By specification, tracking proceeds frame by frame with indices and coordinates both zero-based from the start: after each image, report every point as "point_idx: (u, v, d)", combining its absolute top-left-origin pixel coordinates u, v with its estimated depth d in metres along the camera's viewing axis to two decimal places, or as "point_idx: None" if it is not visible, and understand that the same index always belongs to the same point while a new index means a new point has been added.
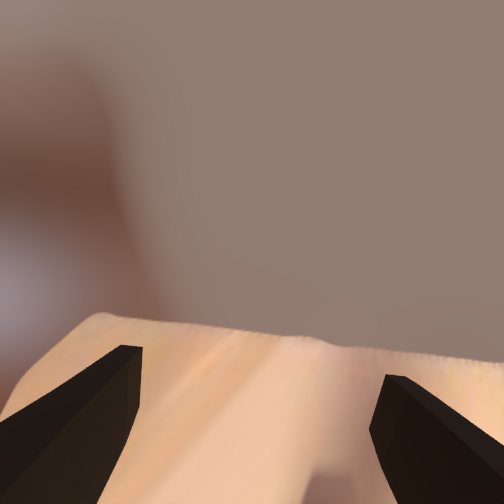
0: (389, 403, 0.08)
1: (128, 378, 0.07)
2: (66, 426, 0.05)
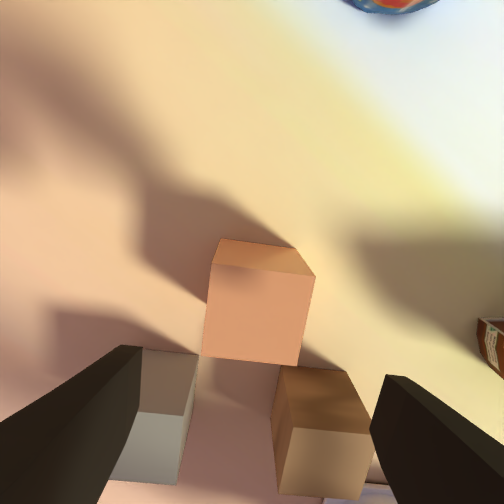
0: (389, 403, 0.08)
1: (128, 378, 0.07)
2: (66, 426, 0.05)
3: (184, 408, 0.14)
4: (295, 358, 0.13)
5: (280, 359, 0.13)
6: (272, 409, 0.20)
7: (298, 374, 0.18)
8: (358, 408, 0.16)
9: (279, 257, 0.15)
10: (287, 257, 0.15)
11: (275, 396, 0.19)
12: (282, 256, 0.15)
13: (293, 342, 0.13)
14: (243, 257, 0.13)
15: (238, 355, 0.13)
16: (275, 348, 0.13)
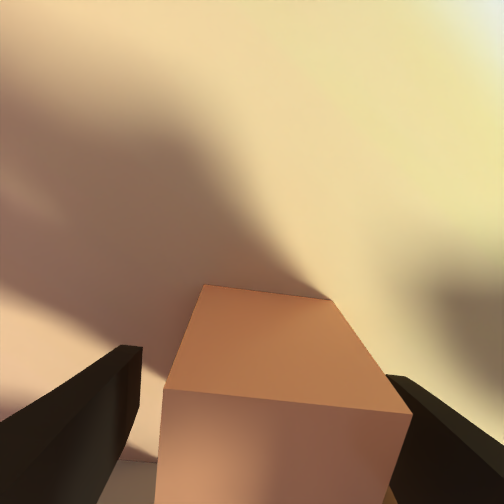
0: None
1: (128, 378, 0.07)
2: (66, 426, 0.05)
3: None
4: None
5: None
6: None
7: None
8: None
9: (313, 334, 0.07)
10: (327, 333, 0.08)
11: None
12: (317, 330, 0.08)
13: None
14: (243, 348, 0.06)
15: None
16: None
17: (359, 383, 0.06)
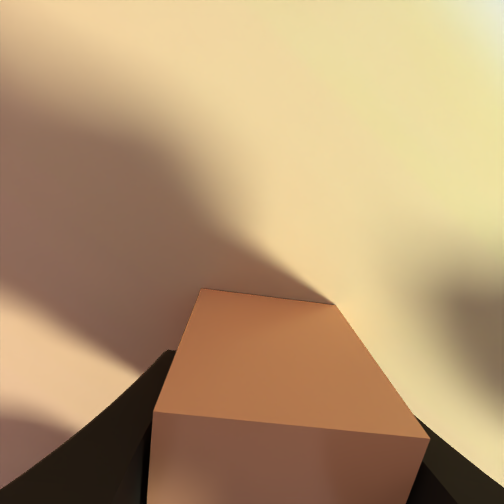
0: None
1: None
2: (143, 433, 0.05)
3: None
4: None
5: None
6: None
7: None
8: None
9: (317, 344, 0.07)
10: (332, 342, 0.07)
11: None
12: (321, 340, 0.07)
13: None
14: (241, 361, 0.06)
15: None
16: None
17: (369, 401, 0.05)
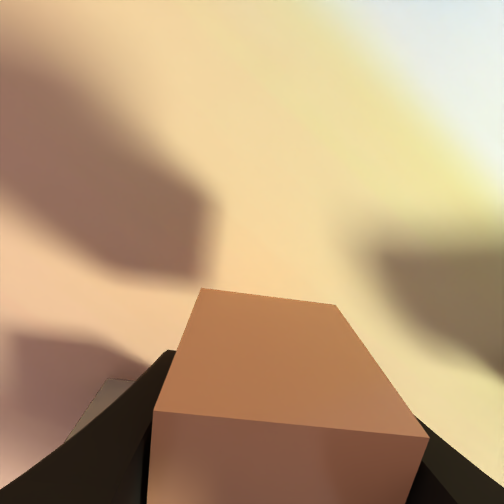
0: None
1: None
2: (143, 433, 0.05)
3: None
4: None
5: None
6: None
7: None
8: None
9: (317, 344, 0.07)
10: (332, 342, 0.07)
11: None
12: (321, 340, 0.07)
13: None
14: (241, 361, 0.06)
15: None
16: None
17: (369, 401, 0.05)
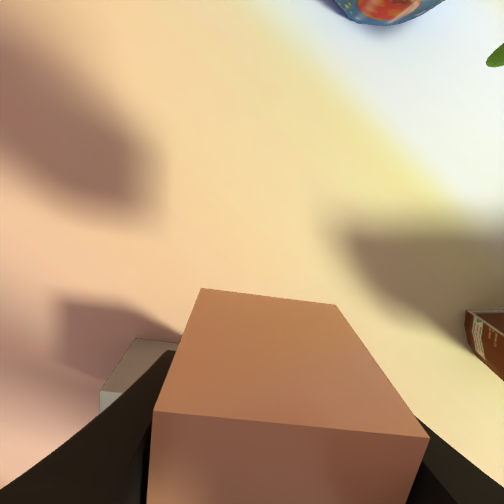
0: None
1: None
2: (143, 433, 0.05)
3: None
4: None
5: None
6: None
7: None
8: None
9: (317, 343, 0.07)
10: (332, 342, 0.07)
11: None
12: (321, 340, 0.07)
13: None
14: (241, 361, 0.06)
15: None
16: None
17: (369, 401, 0.05)
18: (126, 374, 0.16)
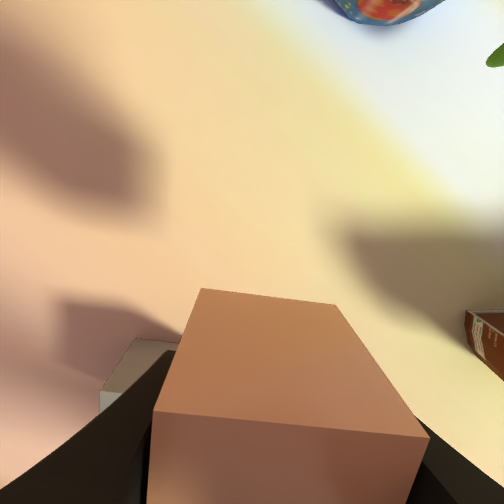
0: None
1: None
2: (143, 433, 0.05)
3: None
4: None
5: None
6: None
7: None
8: None
9: (317, 343, 0.07)
10: (332, 342, 0.07)
11: None
12: (321, 340, 0.07)
13: None
14: (241, 361, 0.06)
15: None
16: None
17: (369, 401, 0.05)
18: (126, 374, 0.16)
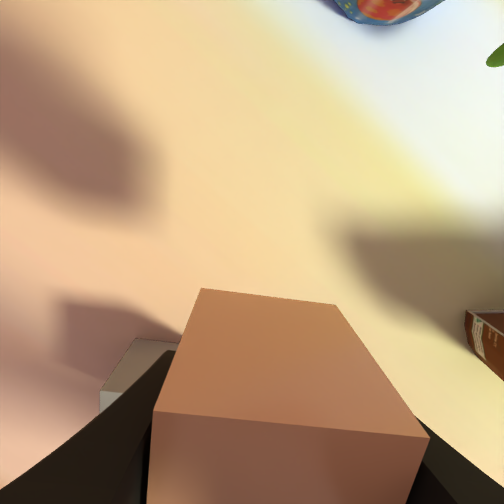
0: None
1: None
2: (143, 433, 0.05)
3: None
4: None
5: None
6: None
7: None
8: None
9: (317, 343, 0.07)
10: (332, 342, 0.07)
11: None
12: (321, 340, 0.07)
13: None
14: (241, 361, 0.06)
15: None
16: None
17: (369, 401, 0.05)
18: (126, 374, 0.16)
